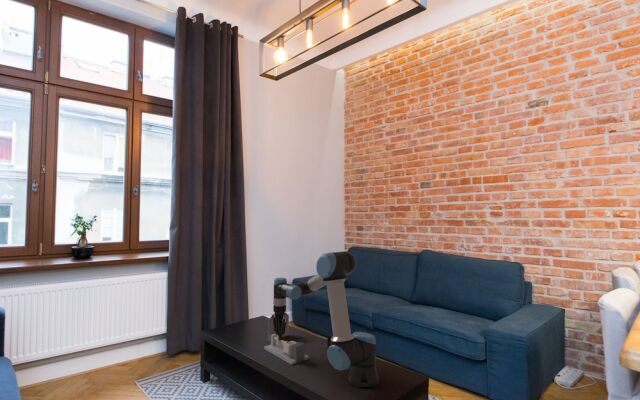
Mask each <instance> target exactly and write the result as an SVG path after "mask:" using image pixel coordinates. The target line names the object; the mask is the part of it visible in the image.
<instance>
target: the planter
mask: <svg viewBox="0 0 640 400" xmlns="http://www.w3.org/2000/svg"><path fill="white" fill-rule="evenodd" d="M285 318H286V319H288V321H287V323H286V329H285V334H282V338H285V337H288V336H289V334H290V331H289V329H290V324H289V323H290V321H289V320H290V314H288V313H287V311H286V312H285ZM272 334H276V332H274V325H273V318H272V315H270V317H269V319H268V334H267V339H268V342H271V335H272Z"/></svg>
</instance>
